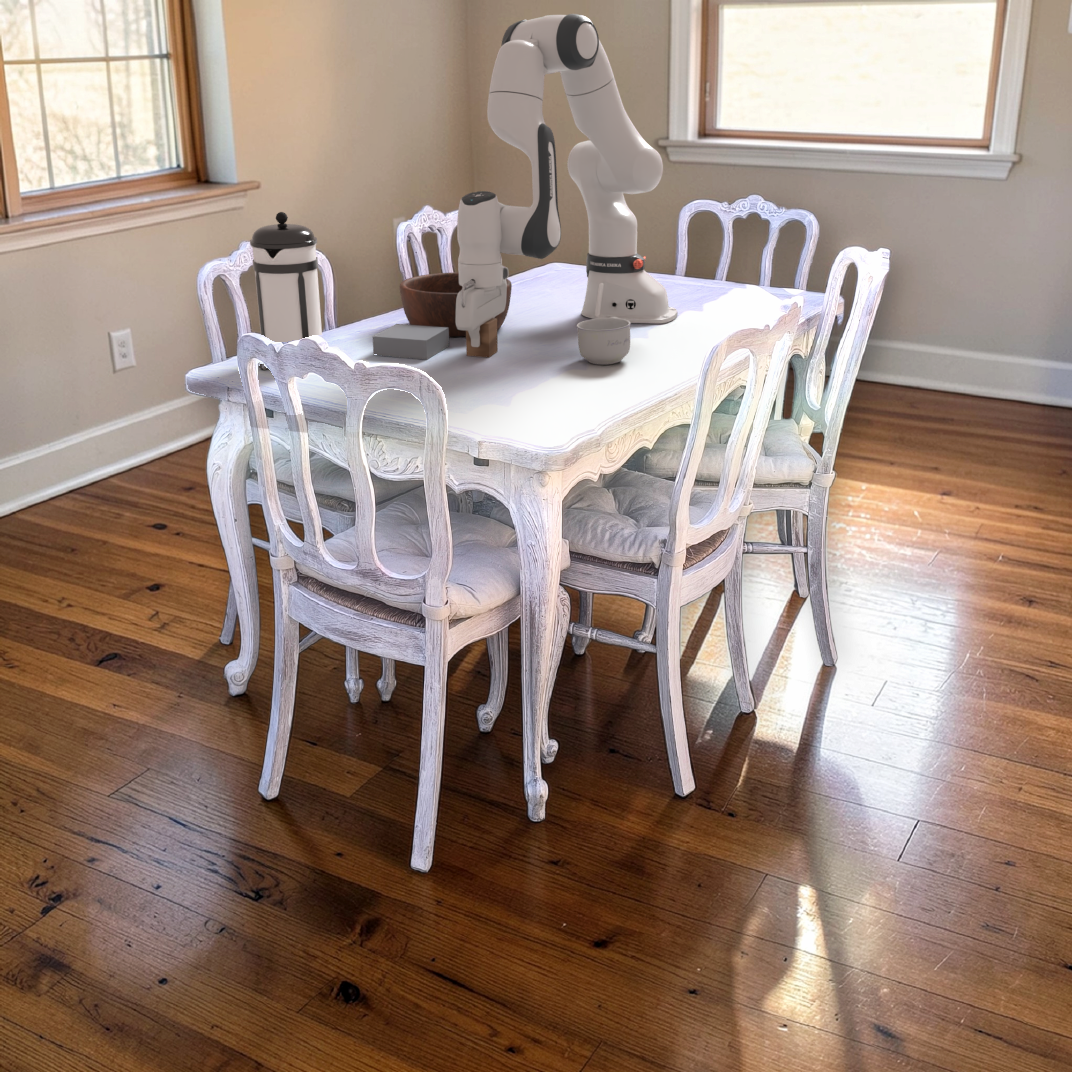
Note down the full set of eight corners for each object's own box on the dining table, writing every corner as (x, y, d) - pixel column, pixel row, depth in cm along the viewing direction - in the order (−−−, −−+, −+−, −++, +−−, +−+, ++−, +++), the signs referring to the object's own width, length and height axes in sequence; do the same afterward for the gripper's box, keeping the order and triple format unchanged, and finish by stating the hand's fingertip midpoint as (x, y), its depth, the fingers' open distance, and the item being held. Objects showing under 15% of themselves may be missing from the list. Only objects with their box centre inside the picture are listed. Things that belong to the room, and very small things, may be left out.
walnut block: (497, 351, 254) (497, 318, 251) (489, 357, 249) (488, 323, 246) (475, 350, 255) (474, 317, 252) (466, 355, 251) (465, 322, 248)
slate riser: (449, 346, 258) (448, 327, 257) (427, 359, 248) (426, 340, 246) (397, 342, 262) (396, 323, 260) (373, 355, 251) (372, 336, 250)
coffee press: (348, 366, 243) (338, 212, 232) (272, 377, 235) (258, 219, 224) (313, 348, 257) (302, 203, 245) (241, 359, 249) (226, 209, 237)
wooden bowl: (532, 323, 279) (532, 278, 275) (472, 345, 259) (471, 297, 255) (443, 311, 290) (441, 268, 286) (379, 332, 271) (376, 286, 267)
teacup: (613, 370, 239) (614, 330, 236) (566, 363, 244) (566, 324, 241) (646, 355, 250) (647, 317, 247) (600, 349, 255) (600, 311, 252)
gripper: (476, 286, 236) (478, 355, 241) (511, 267, 254) (512, 332, 259) (446, 284, 238) (448, 353, 243) (483, 266, 256) (484, 330, 261)
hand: (481, 342), depth 251 cm, fingers closed on walnut block, 5 cm apart
